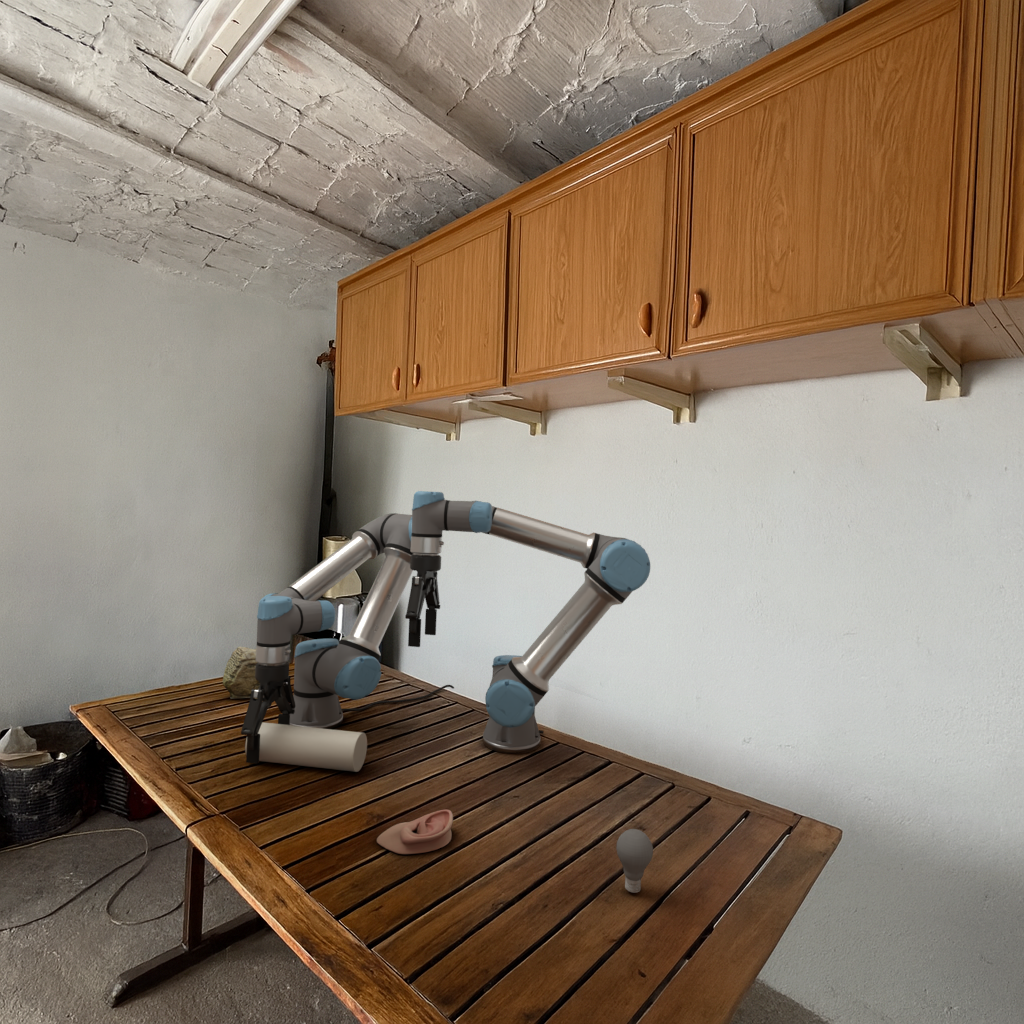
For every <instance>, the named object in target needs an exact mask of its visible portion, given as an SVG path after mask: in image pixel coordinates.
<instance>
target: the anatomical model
mask: <svg viewBox="0 0 1024 1024" xmlns="http://www.w3.org/2000/svg"><path fill="white" fill-rule="evenodd" d="M453 823H454V815H453V811H451V810H450V809H441V810H436V811H433V812H431V813H427V814H425V815H423V816H420V817H418V818H416V819H414V820H411V821H407V822H400V823H396V824H394V825H393V826H390V827H389V828H387V829H386V830H385V831H383V832H382V833H381V834H379V835H378V836H377V838H376V843H377V844H378V845H379V846H380V847H382V848H384V849H386V850H388V851H390V852H392V853H395V854H399V855H414V854H422V853H428V852H432V851H436V850H438V849H440V848H443V847H445V846H447V845H448V844H449V843H450V842H451V840H452V835H453V834H452V829H451V828H452V827H453Z"/></svg>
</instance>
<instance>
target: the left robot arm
mask: <svg viewBox="0 0 1024 1024" xmlns="http://www.w3.org/2000/svg"><path fill="white" fill-rule="evenodd" d="M411 536H412V514H405V513H396V512H395V513H394V512H393V513H385V514H383V515H380V516H378V517H376V518H374V519H373V520H371V521H369V522H368V523H366V524H365V525H363V526H362V527H360V528H359V529H358V530H356V531H355V532H353V533H352V535H351V539H350V540H349V541H347V542H346V543H344V544H343V545H341V546H340V547H339V548H337V550H335V551H334V552H332V553H331V554H330V555H328V556H327V557H326V558H324V559H323V560H322V561H321V562H319V563H318V564H317V565H315V566H313V567H312V568H311V569H309V570H308V571H307V572H306V573H304V574H303V575H301V577H299V578H298V579H297V580H295V581H294V582H292V583H291V584H290V585H288V586H287V587H286V588H284V589H283V590H282V591H280V592H279V593H278V592H273V593H272V592H271V593H268V594H266V595H264V596H263V597H262V598H261V599H259V602H258V607H257V615H256V619H257V620H256V621H257V625H256V647H255V649H256V662H258V663H257V664H256V665H255V679H256V680H258V681H259V682H260V687H259V689H258V690H257V689H252V690H251V697H250V698H249V703H248V706H247V709H246V713H245V717H244V719H243V720H244V721H243V724H242V726H241V730H240V734H241V735H242V736H246V739H247V755H246V754H245V756H246V757H245V758H246V759H245V762H246V763H248V764H259V763H260V761H259V752H260V734H258V732H259V729H260V727H261V724H262V722H263V721H264V720H265V716H266V715H267V712H268V709H269V708H270V707H272V704H273V703H275V705H276V706H277V709H278V710H279V712H280V713H279V714H278V717H277V724H284V725H294V726H303V727H313V728H323V729H332V730H334V729H335V728H337V727H339V726H340V725H342V723H343V722H344V714H343V712H361V711H364V710H367V709H369V708H371V707H373V706H377V705H380V704H396V703H397V704H398V703H407V702H413V701H418V700H423V699H426V698H429V697H430V696H431V695H433V694H435V693H438V692H440V691H442V690H444V689H445V688H451V689H452V690H454V689H455V687H454V686H453V685H452V684H445V685H443V686H441V687H439V688H437V689H435V690H433V691H431V692H429V693H427V694H425V695H422V696H418V697H413V698H405V699H394V700H393V699H392V700H380V701H374V702H372V703H369V704H368V705H365V706H363V707H360V708H342V706H341V702H340V699H339V697H340V698H343V699H349V700H356V701H357V700H362V699H364V698H366V697H368V696H369V695H370V694H372V693H373V692H374V690H376V688H377V686H378V685H379V683H380V681H381V677H382V671H381V669H382V666H381V663H380V662H379V660H380V658H381V652H380V648H379V647H380V645H381V642H382V641H383V638H384V636H385V633H386V632H387V629H388V627H389V625H390V623H391V621H392V619H393V616H394V613H395V612H396V609H397V607H398V605H399V603H400V600H401V599H402V596H403V593H404V591H405V589H406V587H407V584H408V582H409V580H410V578H411V576H412V573H413V571H414V570H411V569H410V557H411V555H412V554H413V553H412V552H411ZM382 554H384V556H385V557H384V560H383V562H382V564H381V567H380V569H379V571H378V572H377V575H376V577H375V579H374V581H373V584H372V586H371V588H370V590H369V592H368V594H367V596H366V598H365V600H364V602H363V605H362V607H361V609H360V611H359V613H358V615H357V618H356V619H355V621H354V624H353V625H352V627H351V630H350V631H349V634H348V635H346V636H344V637H341V638H340V640H339V639H337V638H317V639H308V640H304V641H300V642H299V643H298V644H297V645H296V646H295V650H294V655H293V657H294V672H293V673H294V674H293V688H292V684H291V682H292V681H291V675H290V663H289V660H290V653H292V650H291V637H292V636H293V635H299V634H300V635H301V634H308V633H314V632H321V631H325V630H329V629H331V628H332V627H333V625H334V624H335V621H336V613H337V612H336V609H335V606H334V604H333V603H332V602H330V601H329V600H326V599H325V600H324V599H323V600H320V598H321V597H322V596H323V595H325V594H326V593H327V592H329V591H330V590H331V589H332V588H333V587H335V586H336V585H337V584H339V583H340V582H341V581H342V580H344V579H345V578H346V577H348V576H349V575H350V574H351V573H352V572H354V571H355V570H356V569H358V568H359V567H360V566H361V565H362V564H364V563H365V562H367V560H375V559H376V558H377V557H378V556H380V555H382Z"/></svg>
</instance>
